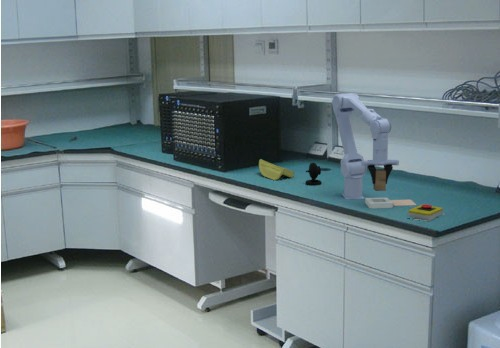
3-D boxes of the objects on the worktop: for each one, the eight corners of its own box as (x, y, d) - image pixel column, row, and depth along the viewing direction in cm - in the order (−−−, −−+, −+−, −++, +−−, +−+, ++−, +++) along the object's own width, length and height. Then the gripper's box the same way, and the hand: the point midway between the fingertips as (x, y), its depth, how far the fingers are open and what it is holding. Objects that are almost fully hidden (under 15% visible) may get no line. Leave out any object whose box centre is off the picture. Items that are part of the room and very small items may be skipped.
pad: (388, 201, 280) (388, 200, 280) (410, 200, 281) (410, 199, 281) (394, 207, 272) (394, 205, 272) (416, 206, 272) (416, 204, 272)
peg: (373, 188, 273) (373, 169, 272) (383, 188, 274) (383, 168, 272) (375, 190, 270) (375, 171, 268) (385, 190, 270) (386, 170, 268)
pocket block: (365, 204, 277) (365, 198, 277) (387, 203, 277) (387, 197, 277) (369, 209, 268) (370, 203, 268) (392, 209, 269) (392, 202, 268)
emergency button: (446, 204, 259) (426, 212, 248) (445, 215, 260) (426, 223, 249) (423, 200, 265) (404, 208, 254) (423, 211, 266) (403, 219, 255)
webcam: (324, 184, 313) (324, 163, 311) (308, 186, 311) (308, 164, 309) (317, 181, 321) (317, 160, 319) (302, 182, 319) (302, 161, 317)
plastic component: (296, 173, 330) (282, 166, 324) (290, 187, 330) (276, 181, 324) (272, 164, 346) (258, 157, 340) (266, 177, 346) (252, 171, 339)
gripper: (364, 151, 264) (363, 186, 267) (401, 150, 265) (400, 185, 267) (360, 148, 271) (359, 182, 274) (396, 148, 272) (395, 181, 274)
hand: (379, 183), depth 271 cm, fingers closed on peg, 4 cm apart
